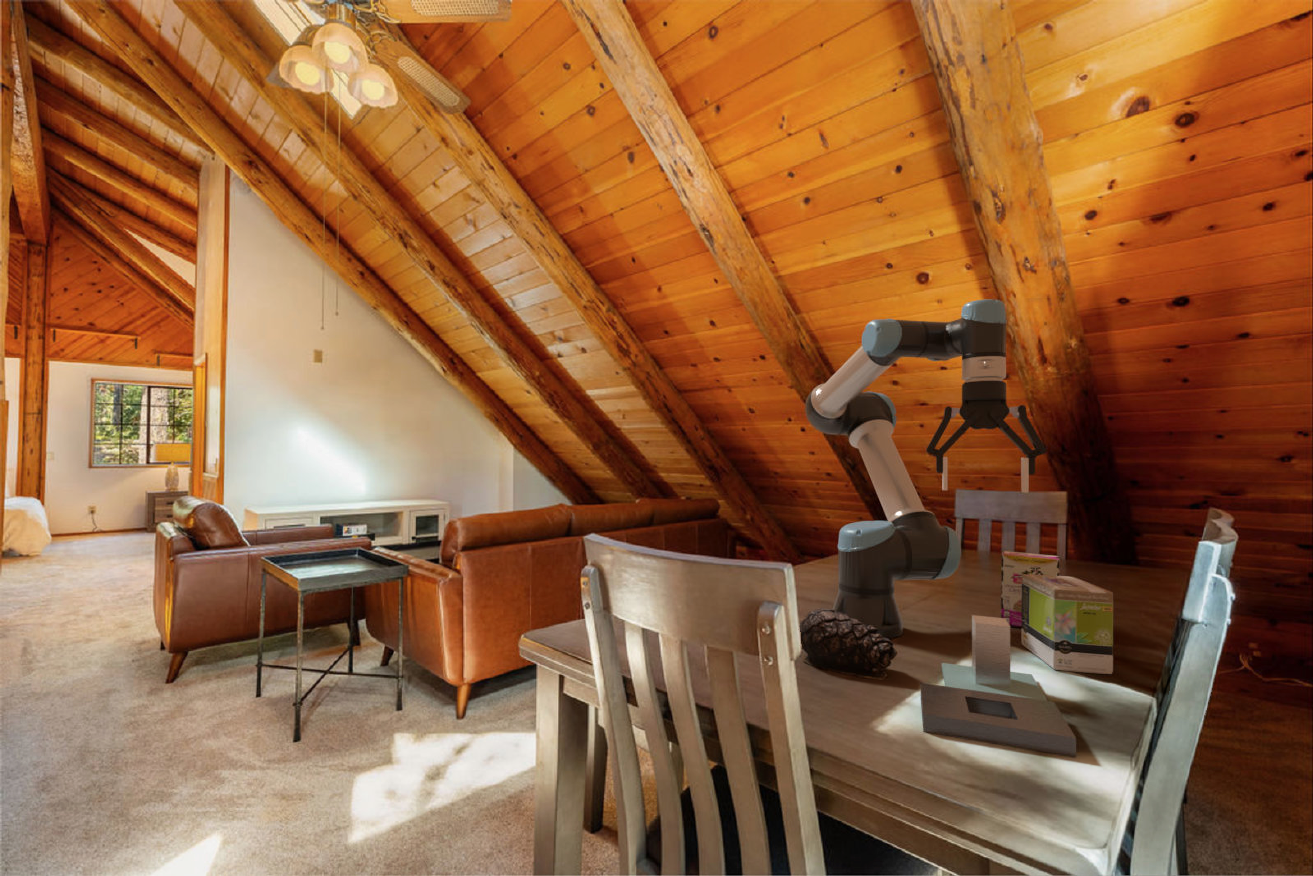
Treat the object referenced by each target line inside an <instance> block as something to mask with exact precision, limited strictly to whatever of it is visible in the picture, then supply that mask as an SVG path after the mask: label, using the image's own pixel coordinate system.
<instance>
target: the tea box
mask: <svg viewBox="0 0 1313 876" xmlns="http://www.w3.org/2000/svg"><path fill="white" fill-rule="evenodd" d="M1020 630H1021V632H1020V633H1021V635H1020V636H1021V645H1023V646H1024V648H1026V649H1028V650H1029V651H1030V652H1031V653H1033V654H1034V655H1035V656H1037V657H1038V658H1039V659H1041V660H1042V661H1043V662H1044V663H1045V664H1047V665H1048V666H1049V667H1051V668H1052V670H1058V671H1065V672H1075V673H1076V672H1077V673H1088V674H1103V675H1106V674H1107V675H1112V674H1113V672H1114V593H1113V591H1110V590H1107V589H1105V588H1102V587H1100V586H1097V585H1095V584H1093V583H1090V582H1087V581H1085V580H1082V579H1080V578H1077V577H1074V576H1068V575H1067V576H1065V575H1059V576H1050V575H1032V574H1022V628H1020Z"/></svg>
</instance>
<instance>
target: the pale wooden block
mask: <svg viewBox="0 0 1313 876" xmlns="http://www.w3.org/2000/svg"><path fill="white" fill-rule="evenodd" d="M971 667H972V674H973V677H974V680H975V683H976V684H981V685H989V686H996V687H1003V688H1010V672H1011V626H1010V625H1009V624H1008V622H1007V621H1006V619H1005V618H1001V617H994V616H985V615H975V614H972V615H971Z"/></svg>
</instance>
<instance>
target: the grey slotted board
mask: <svg viewBox="0 0 1313 876" xmlns="http://www.w3.org/2000/svg"><path fill="white" fill-rule="evenodd" d="M920 705H921V706H920V708H921V719H922V720H921V721H922V729H923V732H924V733H929V734H930V733H931V734H936V735H942V736H949V737H954V738H959V739H964V740H969V741H970V740H971V741H972V740H973V741H975V742H982V743H983V742H984V743H988V744H989V743H990V744H995V745H1000V746H1006V747H1007V746H1008V747H1013V748H1019V749H1022V750H1023V749H1024V750H1029V751H1036V752H1043V753H1047V754H1052V755H1053V754H1054V755H1060V756H1065V757H1070V758H1071V757H1072V758H1077V737H1076V736H1075V734H1074V732H1073V731H1072V728H1070V726H1069V724H1068V723H1067V720H1066V719H1065V718H1064V715H1063V714H1062V712H1061V711H1060V710H1059V708H1058V706H1057V705H1056V703H1055V701H1052V700H1047V701H1045V700H1038V699H1031V698H1024V697H1017V696H1010V695H1003V694H996V693H989V692H982V691H975V690H968V689H961V688H953V687H946V686H945V685H938V684H931V683H925V682H920Z"/></svg>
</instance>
